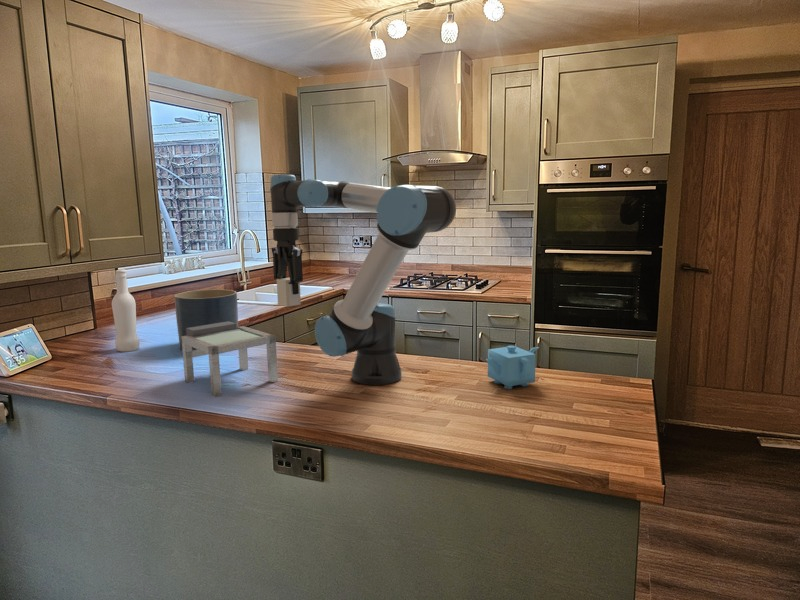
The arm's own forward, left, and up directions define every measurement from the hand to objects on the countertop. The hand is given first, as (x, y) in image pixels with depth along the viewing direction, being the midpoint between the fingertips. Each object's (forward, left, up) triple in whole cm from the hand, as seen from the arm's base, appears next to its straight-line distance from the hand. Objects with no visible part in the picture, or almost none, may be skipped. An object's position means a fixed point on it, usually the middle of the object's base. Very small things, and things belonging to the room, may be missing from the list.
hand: (289, 303), depth 170 cm
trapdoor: (+10, +17, -12) cm, 23 cm away
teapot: (-55, -40, -23) cm, 72 cm away
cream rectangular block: (0, 0, 0) cm, 0 cm away
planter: (+54, +2, -23) cm, 59 cm away
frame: (+7, +17, -22) cm, 29 cm away
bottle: (+71, +26, -23) cm, 79 cm away
